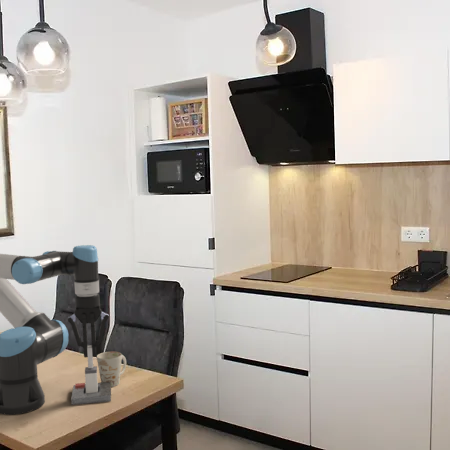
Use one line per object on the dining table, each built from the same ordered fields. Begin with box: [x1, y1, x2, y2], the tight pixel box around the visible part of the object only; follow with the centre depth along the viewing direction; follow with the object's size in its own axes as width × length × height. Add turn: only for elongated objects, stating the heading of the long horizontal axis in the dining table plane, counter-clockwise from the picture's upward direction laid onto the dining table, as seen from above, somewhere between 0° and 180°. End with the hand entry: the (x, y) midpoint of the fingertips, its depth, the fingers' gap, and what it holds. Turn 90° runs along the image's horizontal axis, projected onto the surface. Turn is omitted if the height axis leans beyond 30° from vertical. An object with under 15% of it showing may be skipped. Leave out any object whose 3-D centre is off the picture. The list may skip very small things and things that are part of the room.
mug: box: [96, 351, 127, 388], centre depth 199 cm, size 8×13×10 cm, turn 152°
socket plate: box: [70, 382, 112, 406], centre depth 187 cm, size 12×12×3 cm
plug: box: [84, 365, 99, 393], centre depth 186 cm, size 4×4×9 cm
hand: (90, 366), depth 186 cm, fingers closed
